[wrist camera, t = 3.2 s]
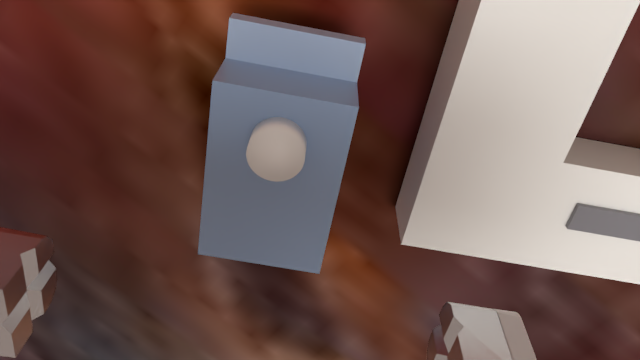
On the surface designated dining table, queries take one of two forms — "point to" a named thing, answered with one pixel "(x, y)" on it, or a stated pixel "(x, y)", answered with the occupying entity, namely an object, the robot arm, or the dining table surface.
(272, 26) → the servo
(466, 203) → the frame
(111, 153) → the dining table surface
